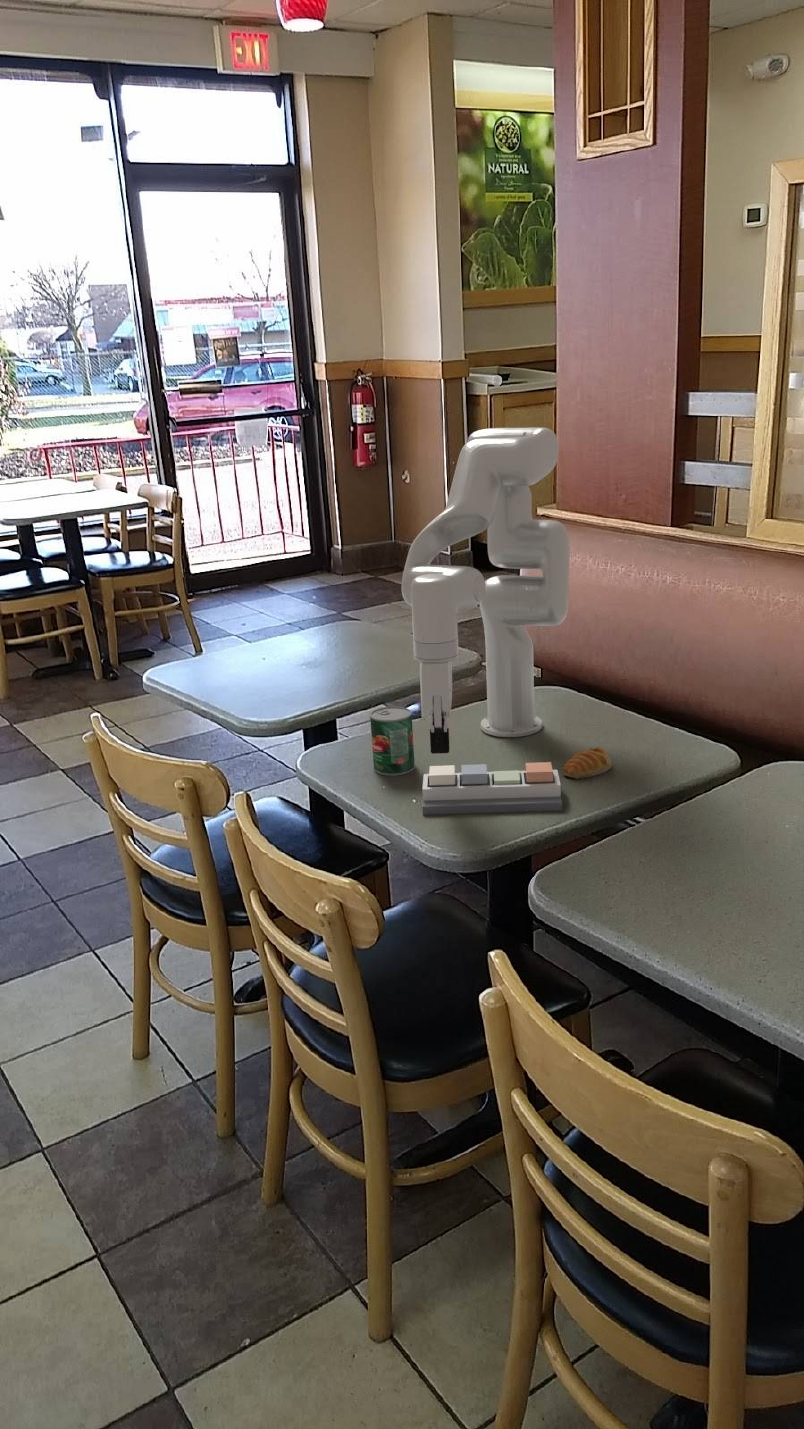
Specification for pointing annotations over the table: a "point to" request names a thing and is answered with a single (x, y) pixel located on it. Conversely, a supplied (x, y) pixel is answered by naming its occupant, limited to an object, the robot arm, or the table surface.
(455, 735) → the table surface
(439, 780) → the ivory key
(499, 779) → the sage key
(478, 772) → the slate key
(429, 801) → the keypad
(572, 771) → the pastry
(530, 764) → the terracotta key
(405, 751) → the canned tomato
